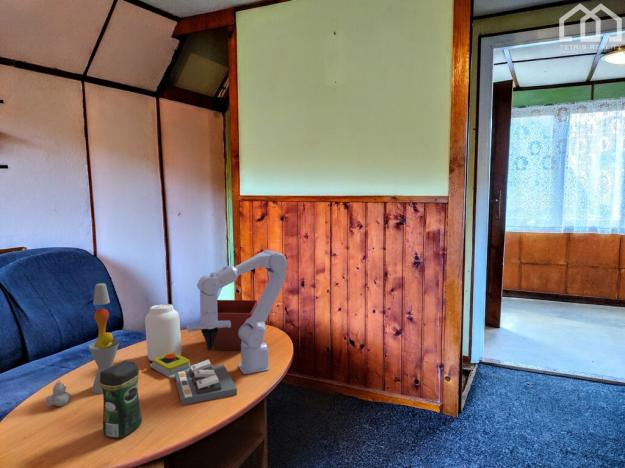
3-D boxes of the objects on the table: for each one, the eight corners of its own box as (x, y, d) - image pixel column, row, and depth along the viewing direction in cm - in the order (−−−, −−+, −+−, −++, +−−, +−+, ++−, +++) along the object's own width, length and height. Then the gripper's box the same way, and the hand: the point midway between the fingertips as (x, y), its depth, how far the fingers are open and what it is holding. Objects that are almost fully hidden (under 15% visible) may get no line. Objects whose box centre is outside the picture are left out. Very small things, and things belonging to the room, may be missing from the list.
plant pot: (251, 354, 170) (250, 312, 168) (203, 353, 170) (202, 312, 168) (258, 337, 189) (257, 299, 187) (215, 336, 189) (214, 299, 187)
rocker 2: (212, 372, 145) (213, 369, 145) (214, 376, 142) (215, 373, 142) (193, 372, 142) (194, 369, 142) (195, 377, 139) (195, 373, 139)
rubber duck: (73, 403, 131) (72, 378, 130) (50, 413, 126) (48, 387, 125) (65, 398, 134) (63, 374, 133) (42, 407, 129) (40, 382, 128)
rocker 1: (209, 361, 151) (208, 359, 151) (211, 365, 147) (210, 362, 147) (191, 368, 148) (190, 365, 148) (192, 372, 145) (191, 369, 145)
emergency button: (171, 347, 163) (194, 359, 154) (171, 358, 164) (195, 370, 155) (148, 354, 156) (172, 367, 147) (149, 366, 157) (172, 379, 147)
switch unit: (223, 369, 155) (223, 360, 155) (237, 394, 137) (236, 383, 136) (174, 378, 148) (174, 368, 148) (181, 405, 130) (181, 393, 130)
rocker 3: (216, 377, 139) (216, 374, 139) (218, 382, 136) (218, 378, 136) (196, 383, 137) (196, 380, 136) (198, 388, 133) (197, 385, 133)
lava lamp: (84, 391, 139) (78, 286, 135) (106, 379, 147) (101, 280, 143) (106, 396, 136) (100, 288, 132) (127, 383, 144) (122, 282, 140)
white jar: (161, 364, 158) (157, 310, 156) (141, 358, 165) (137, 307, 163) (188, 353, 168) (185, 303, 167) (168, 349, 175) (164, 300, 174)
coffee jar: (124, 417, 123) (121, 356, 121) (146, 423, 120) (143, 360, 118) (97, 436, 114) (93, 369, 112) (120, 442, 111) (116, 374, 109)
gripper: (188, 316, 139) (189, 356, 140) (232, 311, 145) (233, 350, 146) (185, 311, 145) (186, 349, 147) (228, 306, 151) (228, 343, 153)
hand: (209, 349), depth 147 cm, fingers closed
